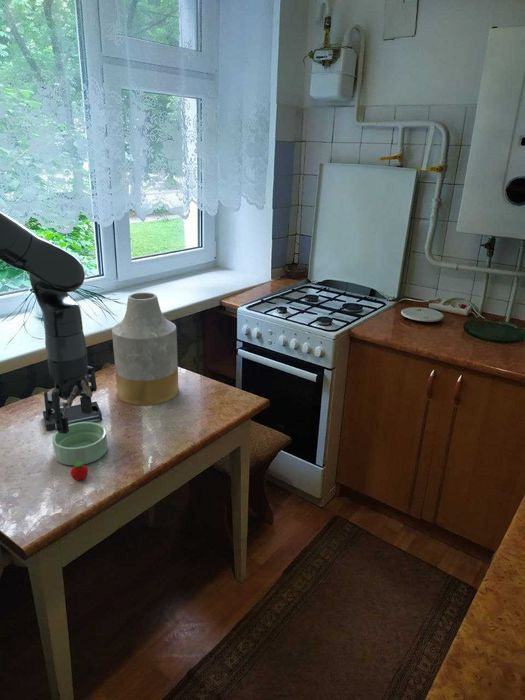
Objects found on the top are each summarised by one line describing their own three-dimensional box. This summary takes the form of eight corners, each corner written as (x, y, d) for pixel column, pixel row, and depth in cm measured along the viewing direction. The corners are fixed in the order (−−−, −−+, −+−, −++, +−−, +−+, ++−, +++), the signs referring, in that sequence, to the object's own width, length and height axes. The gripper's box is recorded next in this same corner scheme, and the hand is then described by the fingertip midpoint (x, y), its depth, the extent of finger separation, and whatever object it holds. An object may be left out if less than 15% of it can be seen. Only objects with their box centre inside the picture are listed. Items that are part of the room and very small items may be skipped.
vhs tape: (46, 431, 129) (45, 424, 129) (43, 417, 136) (42, 411, 135) (102, 420, 136) (101, 413, 135) (97, 407, 142) (96, 401, 141)
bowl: (88, 471, 114) (86, 453, 112) (43, 461, 117) (40, 443, 115) (117, 444, 125) (115, 426, 123) (75, 435, 128) (73, 418, 126)
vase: (104, 395, 149) (94, 298, 138) (145, 374, 164) (140, 284, 153) (151, 411, 141) (145, 309, 130) (190, 387, 156) (188, 293, 145)
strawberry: (82, 485, 110) (80, 470, 108) (68, 481, 110) (66, 466, 109) (91, 475, 113) (90, 461, 111) (78, 472, 114) (76, 458, 112)
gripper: (71, 338, 107) (79, 404, 113) (26, 363, 94) (38, 436, 100) (102, 342, 105) (109, 409, 111) (61, 368, 92) (71, 442, 98)
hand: (75, 422), depth 105 cm, fingers open, 8 cm apart
